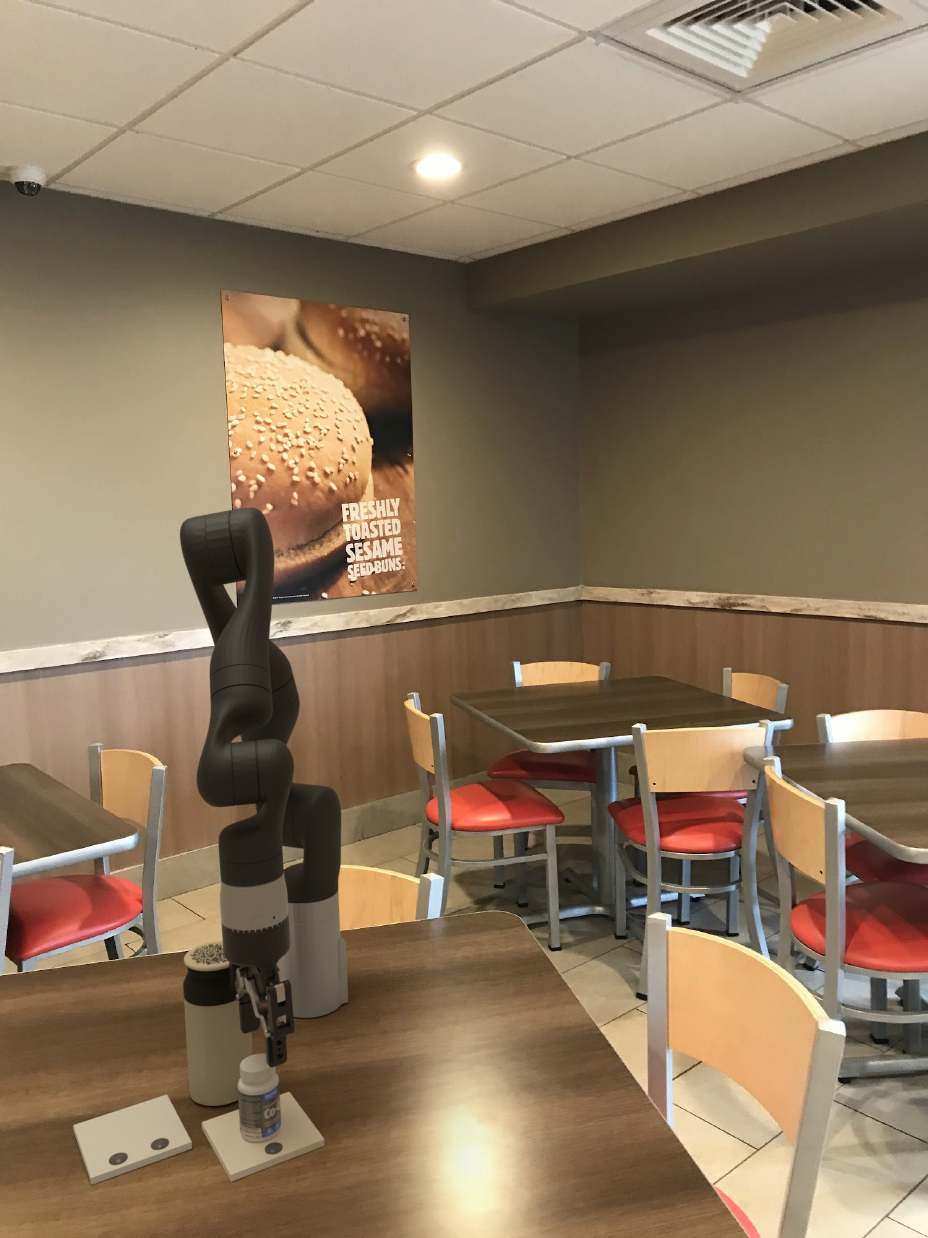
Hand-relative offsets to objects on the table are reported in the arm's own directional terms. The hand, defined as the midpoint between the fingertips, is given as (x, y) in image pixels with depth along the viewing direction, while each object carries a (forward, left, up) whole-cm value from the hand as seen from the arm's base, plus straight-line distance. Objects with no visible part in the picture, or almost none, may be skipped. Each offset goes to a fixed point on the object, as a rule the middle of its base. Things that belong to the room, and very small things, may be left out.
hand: (263, 1046), depth 111 cm
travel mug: (+2, -12, -11) cm, 17 cm away
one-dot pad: (+1, 0, -11) cm, 11 cm away
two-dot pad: (+14, -8, -11) cm, 19 cm away
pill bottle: (+1, 0, -10) cm, 10 cm away
